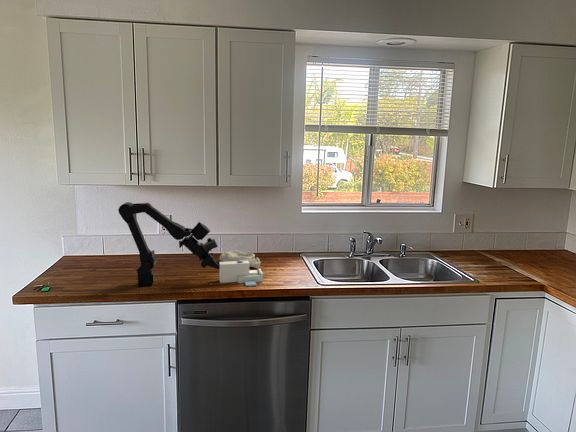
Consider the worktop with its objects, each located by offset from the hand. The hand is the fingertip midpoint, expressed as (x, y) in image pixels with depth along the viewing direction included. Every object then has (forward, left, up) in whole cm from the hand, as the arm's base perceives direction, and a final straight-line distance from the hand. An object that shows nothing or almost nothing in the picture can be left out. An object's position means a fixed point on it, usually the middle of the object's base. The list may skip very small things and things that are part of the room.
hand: (218, 268), depth 201 cm
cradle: (+14, 0, -7) cm, 16 cm away
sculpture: (+13, +25, -7) cm, 29 cm away
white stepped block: (+9, 0, -7) cm, 11 cm away
